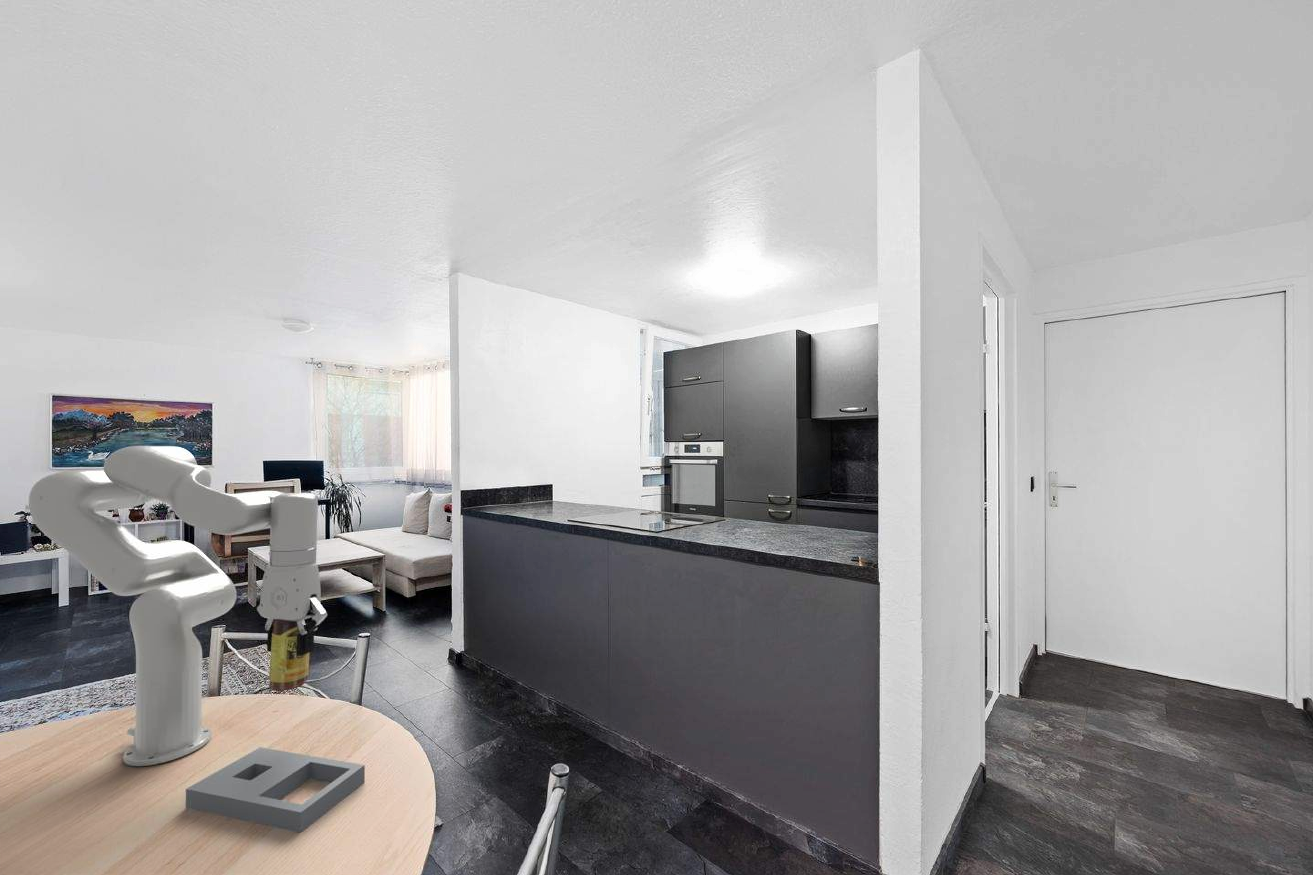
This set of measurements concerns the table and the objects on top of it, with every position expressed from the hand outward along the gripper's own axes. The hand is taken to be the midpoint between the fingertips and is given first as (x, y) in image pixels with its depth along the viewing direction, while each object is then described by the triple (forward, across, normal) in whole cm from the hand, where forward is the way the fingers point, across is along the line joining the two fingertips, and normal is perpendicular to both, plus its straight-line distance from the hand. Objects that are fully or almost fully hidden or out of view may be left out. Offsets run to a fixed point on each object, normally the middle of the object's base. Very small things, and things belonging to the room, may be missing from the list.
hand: (290, 650), depth 104 cm
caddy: (+19, +10, -11) cm, 24 cm away
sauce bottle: (+7, 0, 0) cm, 7 cm away
